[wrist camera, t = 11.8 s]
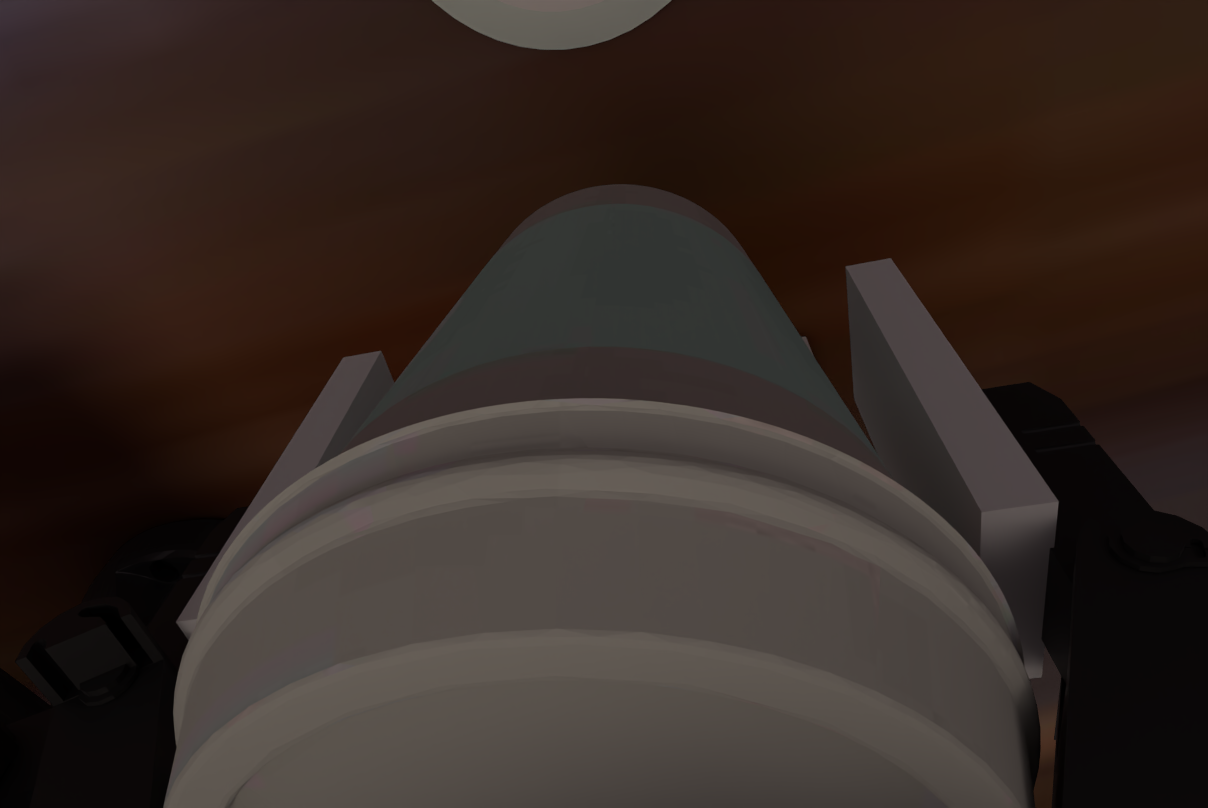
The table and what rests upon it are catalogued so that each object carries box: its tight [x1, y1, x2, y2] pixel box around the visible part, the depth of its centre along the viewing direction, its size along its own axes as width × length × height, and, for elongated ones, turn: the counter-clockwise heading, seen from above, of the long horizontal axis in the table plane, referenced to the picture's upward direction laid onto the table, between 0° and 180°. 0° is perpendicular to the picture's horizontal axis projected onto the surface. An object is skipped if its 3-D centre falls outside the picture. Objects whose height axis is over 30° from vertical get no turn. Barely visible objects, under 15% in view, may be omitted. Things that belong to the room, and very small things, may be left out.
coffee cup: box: [163, 184, 1040, 808], centre depth 12 cm, size 8×8×12 cm
